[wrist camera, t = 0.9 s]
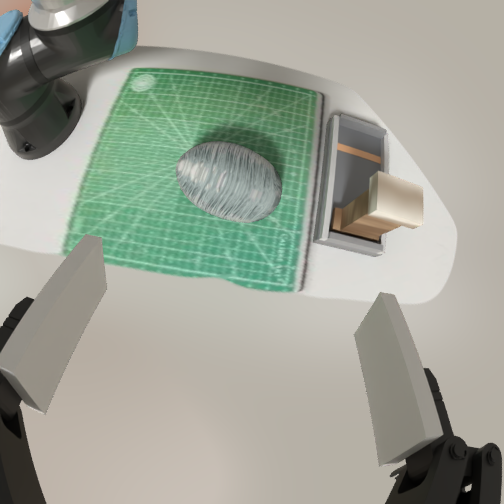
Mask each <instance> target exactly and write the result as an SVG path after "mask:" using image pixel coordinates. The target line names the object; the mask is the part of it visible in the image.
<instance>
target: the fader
mask: <svg viewBox="0 0 504 504" xmlns="http://www.w3.org/2000/svg"><path fill="white" fill-rule="evenodd" d="M421 225H423V187H421V186H418V185H416V184H413V183H411V182H408V181H405V180H403V179H400V178H397V177H395V176H392V175H389V174H386V173H383V172H380V171H377V172H376V173H375V174H374V175H373V176H371V177H370V184H369V189H368V190H366V191H365V192H364V193H362V194H361V195H360V196H359V197H357V198H356V199H355V200H353V201H352V202H351V203H350V204H348V205H347V206H346V207H344V208H343V209H340V208H336V207H335V208H334V209H333V213H332V221H331V229H330V230H331V231H335V232H339V233H343V234H347V235H351V236H355V237H359V238H363V239H367V240H370V241H374V242H376V241H378V240H379V236H380V235H382V234H384V233H387V232H389V231H391V230H393V229H395V228H398V227H400V226H405V227H408V228H411V229H414V228H417V227H419V226H421Z"/></svg>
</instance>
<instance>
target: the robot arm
mask: <svg viewBox="0 0 504 504" xmlns="http://www.w3.org/2000/svg"><path fill="white" fill-rule="evenodd" d="M31 1H32V2H33V3H32V5H31V7H30V9H29V13H28V15H27V16H25V17H23V14H22V12H20V11H19V10H13V11H9V12H7V13H5V14H3V15H2V16H0V125H1V126H2V129H3V131H4V134H5V137H6V139H7V142H8V144H9V146H10V148H11V149H12V151H13V152H15V153H16V154H17V155H18V156H19V157H21V158H23V159H27V160H33V159H38V158H41V157H43V156H45V155H47V154H49V153H51V152H52V151H54V150H55V149H56V148H57V147H59V146H60V145H61V144H62V143H63V142H64V141H65V140H66V139H67V137H68V136H69V135H70V134H71V132H72V131H73V129H74V128H75V126H76V124H77V122H78V119H79V117H80V113H81V100H80V97H79V96H78V94H77V92H76V90H75V89H74V88H73V87H72V86H71V85H70V84H68V83H67V82H65V81H64V80H62V79H61V78H60V77H63V76H65V75H68V74H70V73H73V72H75V71H78V70H81V69H83V68H86V67H89V66H92V65H95V64H98V63H101V62H104V61H107V60H112V59H113V58H114V57H117V56H119V55H122V54H125V53H128V52H130V51H132V50H133V49H134V48H135V46H136V44H137V41H138V40H137V39H138V20H137V12H136V11H137V0H31ZM106 290H107V283H106V275H105V267H104V258H103V247H102V238H101V237H97V236H92V235H87V234H86V235H85V236H84V237H83V238H82V239H81V240H80V242H79V243H78V244H77V245H76V246H75V248H74V249H73V250H72V251H71V253H70V254H69V255H68V256H67V257H66V259H65V260H64V261H63V263H62V264H61V265H60V267H59V268H58V269H57V270H56V271H55V273H54V274H53V275H52V277H51V278H50V279H49V281H48V282H47V283H46V285H45V286H44V288H43V289H42V291H41V292H40V293H39V294H38V296H37V297H36V299H35V300H34V299H32V298H29V297H26V298H24V299H23V300H22V301H20V302H19V303H18V304H16V305H15V307H14V309H13V310H12V311H11V313H10V314H9V317H8V318H6V320H5V321H4V323H3V326H1V327H0V504H46V501H45V498H44V496H43V493H42V490H41V487H40V484H39V481H38V478H37V474H36V471H35V468H34V464H33V461H32V457H31V453H30V449H29V445H28V441H27V436H26V432H25V427H24V422H23V417H22V411H21V409H20V406H19V405H20V402H21V400H23V401H24V403H25V404H26V405H27V406H28V407H29V408H31V409H33V410H35V411H37V412H40V413H42V414H44V415H46V412H47V410H48V407H49V405H50V403H51V400H52V398H53V395H54V393H55V390H56V388H57V386H58V384H59V382H60V379H61V377H62V375H63V373H64V371H65V369H66V366H67V364H68V362H69V360H70V358H71V356H72V354H73V352H74V350H75V348H76V346H77V344H78V342H79V340H80V338H81V336H82V334H83V332H84V330H85V328H86V326H87V324H88V323H89V321H90V319H91V317H92V315H93V313H94V311H95V309H96V308H97V306H98V304H99V302H100V300H101V299H102V297H103V295H104V293H105V292H106ZM354 337H355V341H356V345H357V350H358V354H359V359H360V363H361V367H362V372H363V377H364V382H365V387H366V392H367V397H368V402H369V407H370V413H371V418H372V424H373V429H374V435H375V442H376V448H377V455H378V462H379V466H387V465H394V464H397V463H399V462H400V461H402V460H404V459H406V465H404V466H402V467H400V468H398V469H397V470H395V471H393V472H392V473H391V475H390V477H393V476H395V475H397V474H399V475H398V476H397V477H396V478H395V479H396V482H395V484H394V486H393V489H392V491H391V493H390V495H389V497H388V499H387V501H386V503H385V504H500V501H501V484H502V457H501V452H500V450H499V448H498V446H497V445H496V444H494V443H488V444H486V445H485V446H483V447H482V448H474V447H468V446H467V445H466V443H465V441H464V440H463V439H461V438H460V437H457V436H454V434H453V432H452V428H451V425H450V421H449V418H448V414H447V411H446V408H445V405H444V402H443V401H442V399H443V398H442V395H441V393H440V392H439V390H440V389H439V386H438V383H437V380H436V378H435V377H434V375H433V374H432V373H431V371H430V370H429V368H423V366H422V363H421V361H420V358H419V355H418V352H417V349H416V347H415V344H414V341H413V339H412V336H411V333H410V331H409V328H408V326H407V323H406V321H405V318H404V316H403V314H402V311H401V309H400V307H399V304H398V302H397V299H396V297H395V295H393V294H388V293H382V292H380V293H379V295H378V297H377V298H376V300H375V302H374V303H373V305H372V307H371V308H370V310H369V312H368V313H367V315H366V316H365V318H364V320H363V321H362V323H361V325H360V326H359V328H358V329H357V331H356V332H355V334H354ZM470 484H472V488H471V490H470V491H468V492H466V491H465V487H466V486H468V485H470Z"/></svg>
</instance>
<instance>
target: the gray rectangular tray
mask: <svg viewBox="0 0 504 504" xmlns="http://www.w3.org/2000/svg"><path fill="white" fill-rule="evenodd" d="M377 171H380V172H383V173H386V174H389V141H388V133H386V129H383V128H380V127H378V126H375V125H373V124H370V123H367V122H364V121H362V120H359V119H356V118H353V117H350V116H347V115H344V114H340V116H337V115H334V116H333V118H332V119H330V121H329V122H328V124H327V128H326V139H325V149H324V159H323V168H322V177H321V185H320V193H319V201H318V209H317V217H316V224H315V231H314V238H313V243H318V244H322V245H326V246H331V247H335V248H339V249H344V250H348V251H352V252H356V253H361V254H365V255H369V256H373V257H377V256H380V255H382V254H384V253H385V246H386V233H384V234H382V235H380V236H379V240H378V241H376V242H374V241H370V240H367V239H363V238H359V237H355V236H351V235H347V234H343V233H339V232H335V231H331V230H330V229H331V221H332V213H333V209H334V208H335V207H336V208H340V209H343V208H344V207H346V206H347V205H348V204H350V203H351V202H352V201H353V200H355V199H356V198H357V197H359V196H360V195H361V194H362V193H364V192H365V191H366V190H368V189H369V184H370V177H371V176H373V175H374V174H375V173H376V172H377Z"/></svg>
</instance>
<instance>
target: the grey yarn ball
mask: <svg viewBox="0 0 504 504" xmlns="http://www.w3.org/2000/svg"><path fill="white" fill-rule="evenodd" d="M176 176H177V180H178V183H179V186H180V188H181V190H182V191H183V193H184V194H185V196H186V197H187V198H188V199H189V200H190V201H191V202H192V203H193V204H194V205H196V206H197V207H199V208H200V209H202V210H203V211H205V212H207V213H209V214H211V215H214V216H217V217H220V218H222V219H226V220H231V221H235V222H244V223H250V222H255V221H259V220H262V219H264V218H265V217H267V216H268V215H270V214H271V213H272V212H273V211H274V210H275V208H276V207H277V206H278V204H279V202H280V199H281V194H282V184H281V179H280V177H279V174H278V172H277V171H276V169H275V168H274V167H273V165H272V164H271V163H270V162H269V161H268V160H266V159H265V158H264V157H262V156H261V155H259V154H257V153H256V152H254V151H252V150H250V149H248V148H246V147H244V146H241V145H238V144H235V143H230V142H223V141H212V142H207V143H202V144H200V145H197V146H195V147H193V148H191V149H190V150H188V151H187V152H186V153H184V154H183V155H182V156H181V157H180V159H179V160H178V162H177V165H176Z"/></svg>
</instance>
